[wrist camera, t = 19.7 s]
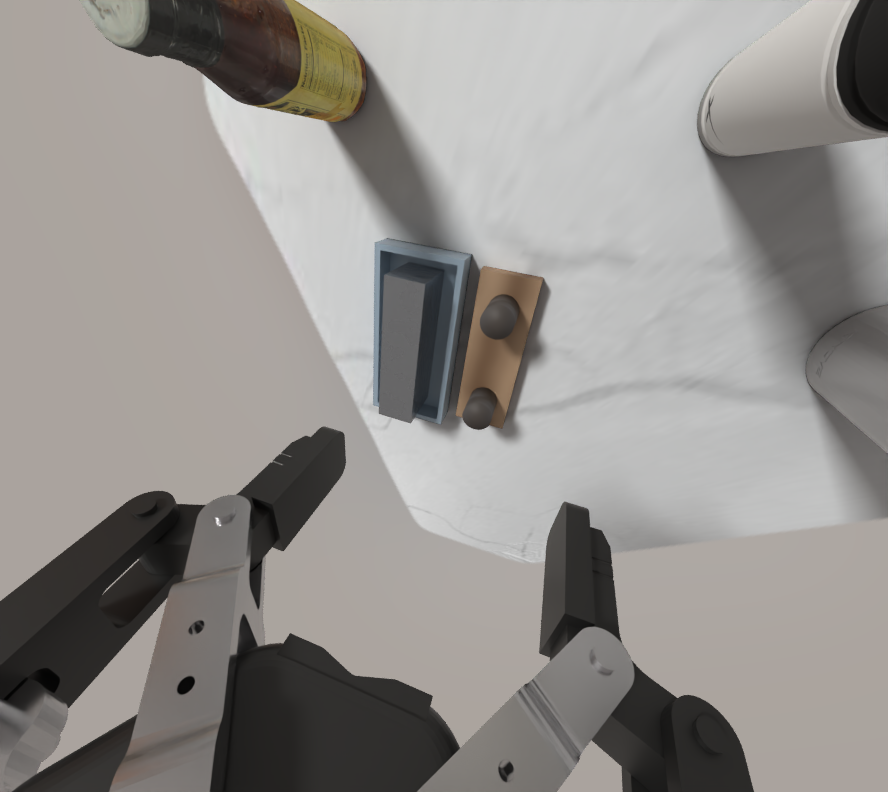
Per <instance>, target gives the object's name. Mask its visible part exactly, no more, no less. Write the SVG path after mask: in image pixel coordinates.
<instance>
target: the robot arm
mask: <svg viewBox="0 0 888 792" xmlns="http://www.w3.org/2000/svg"><path fill="white" fill-rule="evenodd" d="M806 376H807V379H808V382H809V384H810V385H811V386H812V388H813V389H814V390H815V391H816V392H817V393H819V394H820V395H821V396H822V397H823V398H824V399H825V400H827V401H828V402H829V403H830V404H831V405H832V406H834V407H835V408H836V409H837V410H838V411H839V412H840V413H841V414H842V415H844V416H845V417H846V418H847V419H848V420H849V421H850V422H852V423H853V424H854V425H855V426H856V427H857V428H859V429H860V430H861V431H862V432H863V433H864V434H865V435H867V436H868V437H869V438H870V439H871V440H872V441H874V442H875V443H876V444H877V445H878V446H879V447H880V448H882V449H883V450H884V451H885V452H886V453H887V454H888V305H884V306H881V307H877V308H873V309H870V310H867V311H864V312H862V313H859V314H857V315H855V316H852V317H850V318H848V319H847V320H845V321H843V322H841V323H840V324H838V325H836V326H835V327H834V328H833V329H831V330H830V331H829V332H827V333H826V334H825V335H824V336H823V337H822V338H821V339H820V340H819V341H818V342H817V344H816V345H815V346H814V348H813V350H812V351H811V353H810V354H809V357H808V360H807V363H806ZM345 463H346V457H345V437H344V433H343V432H341V431H337V430H334V429H331V428H327V427H321V428H320V429H319V430H318V431H317V432H316V433H315V434H314V435H313V436H312V437H308V436H304V437H302V438H300V439H298V440H296V441H295V442H292V443H291V444H290V445H289V446H288V447H287V448H286V449H285V450H284V451H283V452H282V454H281V455H280V454H279V455H278V456H277V457H276V458H275V459H274V460H273V462H272V463H270V464H269V465H268V466H267V467H266V468H265V469H264V470H262V471H261V472H260V473H259V474H258V475H257V476H256V477H255V478H254V479H253V480H252V481H251V482H250V483H249V484H248V485H247V486H246V487H245V488H243V490H241V491H240V492H239V493H238V494H237V495H227V496H223V497H220V498H217V499H215V500H213V501H211V502H210V503H208V504H207V505H187V504H176V501H175V499H174V497H173V496H172V495H171V494H170V493H168V492H164V491H153V492H148V493H144V494H142V495H139V496H137V497H135V498H133V499H131V500H129V501H128V502H126V503H125V504H124V505H123V506H121V507H120V508H119V509H117V510H116V511H115V512H114V513H112V514H111V515H110V516H108V517H107V518H106V519H105V520H104V521H102V522H101V523H100V524H98V525H97V526H96V527H94V528H93V529H92V530H91V531H89V532H88V533H87V534H86V535H84V536H83V537H82V538H80V539H79V540H78V541H77V542H75V543H74V544H73V545H72V546H70V547H69V548H68V549H66V550H65V551H64V552H63V553H61V554H60V555H59V556H57V557H56V558H55V559H54V560H52V561H51V562H50V563H49V564H47V565H46V566H45V567H44V568H42V569H41V570H40V571H38V572H37V573H36V574H35V575H33V576H32V577H31V578H30V579H28V580H27V581H26V582H24V583H23V584H22V585H21V586H19V587H18V588H17V589H15V590H14V591H13V592H12V593H10V594H9V595H8V596H6V597H5V598H4V599H3V600H1V601H0V792H557V791H558V789H559V788H560V787H561V785H562V784H563V782H564V781H565V780H566V779H567V777H568V776H569V775H570V773H571V772H572V770H573V769H574V767H575V766H576V764H577V763H578V761H579V759H580V758H579V757H580V755H581V753H582V752H583V750H584V749H585V748H586V746H587V745H588V744H589V742H590V741H591V740H592V741H593V742H594V743H595V744H597V745H598V746H599V747H600V748H601V749H602V750H603V751H605V752H606V753H607V754H608V755H609V756H610V757H612V758H613V759H614V760H615V761H616V762H617V763H618V764H619V765H621V766H622V786H623V792H754V790H753V787H752V783H751V779H750V775H749V771H748V767H747V763H746V759H745V755H744V752H743V749H742V746H741V744H740V741H739V739H738V737H737V735H736V733H735V732H734V730H733V728H732V727H731V726H730V724H729V723H728V722H727V720H726V719H725V718H724V717H723V715H722V714H721V713H720V712H719V711H718V710H716V709H715V708H714V707H713V706H712V705H710V704H709V703H708V702H706V701H704V700H702V699H701V698H698V697H695V696H691V695H684V696H681V697H679V698H676V697H675V696H674V695H672V694H671V693H670V692H668V691H667V690H666V689H664V688H663V687H661V686H660V685H659V684H657V683H656V682H655V681H653V680H652V679H651V678H649V677H648V676H647V675H646V674H644V673H643V672H642V671H641V670H640V669H639V668H638V667H637V666H636V665H635V664H634V663H633V661H632V660H631V657H630V655H629V654H628V652H627V650H626V648H625V647H624V645H623V644H622V641H621V638H620V634H619V626H618V616H617V607H616V598H615V588H614V581H613V569H612V566H611V564H612V560H611V550H610V546H609V544H608V542H607V540H606V538H605V536H604V534H603V532H602V531H601V530H598V529H595V528H592V527H590V519H589V510H588V509H587V508H584V507H580V506H577V505H574V504H571V503H567V502H564V503H563V504H562V506H561V508H560V510H559V512H558V515H557V517H556V519H555V521H554V523H553V525H552V527H551V530H550V533H549V536H548V540H547V546H546V559H545V575H544V590H543V605H542V620H541V636H540V650H539V653H540V654H542V655H545V656H548V657H550V662H549V663H548V664H547V665H546V666H545V667H544V668H543V669H542V670H541V671H540V672H539V673H538V674H537V675H536V676H535V677H534V678H533V680H531V681H530V682H529V683H528V684H525V685H524V686H523V687H521V688H520V689H519V690H518V691H517V692H516V693H515V694H514V695H513V696H512V697H511V698H510V699H509V700H508V701H507V702H506V703H505V704H504V705H503V706H502V707H501V708H500V709H499V710H498V711H497V712H496V713H495V714H494V715H493V716H492V717H491V718H490V719H489V720H488V721H487V722H486V723H485V724H484V725H483V726H482V727H481V728H480V729H479V730H478V731H477V732H476V733H475V734H474V735H473V736H472V737H471V738H470V739H469V740H468V741H467V742H466V743H465V744H464V745H463V746H462V747H461V748H460V747H459V745H458V743H457V741H456V739H455V737H454V735H453V733H452V732H451V730H450V728H449V727H448V726H447V724H446V722H445V721H444V720H443V719H442V718H441V716H440V715H439V714H438V713H437V712H436V711H435V710H434V709H433V708H431V707H430V705H431V701H432V697H433V696H432V695H429V694H427V693H425V692H423V691H420V690H418V689H416V688H414V687H411V686H409V685H406V684H404V683H402V682H400V681H398V680H395V679H384V678H373V677H361V676H354V675H352V674H351V673H350V672H348V671H347V670H346V669H345V668H344V667H343V666H342V665H341V664H340V663H339V662H338V661H337V660H336V659H335V658H333V657H332V656H331V655H330V654H329V653H328V652H327V651H326V650H325V649H324V648H322V647H320V646H318V645H316V644H313V643H311V642H309V641H306V640H304V639H302V638H299V637H297V636H295V635H293V634H291V633H290V634H289V636H288V637H287V639H286V640H285V642H284V643H283V644H282V643H279V644H278V643H276V644H268V645H265V632H264V624H263V600H264V580H265V555H266V554H267V553H268V551H269V550H270V549H271V548H272V547H273V548H276V549H278V550H281V551H284V550H285V549H286V547H287V546H288V545H289V544H290V542H291V541H292V539H293V538H294V537H295V536H296V534H297V533H298V532H299V531H300V529H301V528H302V527H303V525H304V524H305V523H306V521H307V520H308V519H309V518H310V516H311V515H312V514H313V512H314V511H315V510H316V508H317V507H318V506H319V504H320V503H321V502H322V501H323V499H324V498H325V497H326V496H327V494H328V493H329V492H330V490H331V489H332V488H333V486H334V485H335V484H336V483H337V481H338V480H339V478H340V477H341V476H342V474H343V471H344V469H345ZM137 559H139V561H138V562H137V563H135V564H134V565H133V566H132V568H130V569H129V570H128V571H127V572H126V573H125V574H124V575H123V576H122V577H121V578H120V579H119V580H118V581H116V582H115V583H114V584H113V585H112V586H111V587H110V588H109V589H108V590H107V591H106V592H105V593H104V591H105V590H106V588H108V587H109V586H110V585H111V584H112V583H113V582H114V581H115V580H116V579H117V578H118V577H119V576H120V575H121V574H123V573H124V572H125V570H127V569H128V568H129V567H130V566H131V565H132V564H133V563H134V562H135V561H136V560H137ZM103 593H104V594H103ZM102 594H103V595H102ZM167 597H168V598H167ZM166 598H167V602H166V606H165V610H164V614H163V618H162V621H161V625H160V629H159V633H158V637H157V641H156V645H155V649H154V653H153V656H152V660H151V664H150V668H149V672H148V676H147V680H146V683H145V687H144V691H143V695H142V699H141V703H140V707H139V711H138V714H137V715H135V716H134V717H132V718H131V719H129V720H127V721H126V722H124V723H122V724H120V725H119V726H117V727H115V728H114V729H112V730H110V731H108V732H107V733H105V734H104V735H102V736H100V737H98V738H97V739H95V740H93V741H92V742H90V743H88V744H87V745H85V746H83V747H81V748H80V749H78V750H77V751H75V752H73V753H71V754H70V755H68V756H66V757H65V758H63V759H61V760H60V761H58V762H56V763H54V764H53V765H51V766H49V767H48V768H46V769H44V770H43V771H41V772H39V773H38V774H36V773H37V770H38V768H39V766H40V764H41V762H43V761H44V760H45V759H47V758H48V757H49V756H50V755H51V754H52V753H53V752H54V750H55V749H56V748H57V746H58V744H59V741H60V734H61V732H62V730H63V728H64V726H65V724H66V721H67V716H68V708H69V707H70V706H71V705H72V704H73V703H74V701H75V700H76V699H77V698H78V697H79V696H80V695H81V694H82V692H83V691H84V690H85V689H86V688H87V687H88V686H89V685H90V684H91V682H92V681H93V680H94V679H95V678H96V677H97V676H98V675H99V673H100V672H101V671H102V670H103V669H104V668H105V667H106V666H107V664H108V663H109V662H110V661H111V660H112V659H113V658H114V657H115V656H116V654H117V653H118V652H119V651H120V650H121V649H122V648H123V647H124V645H125V644H126V643H127V642H128V641H129V640H130V639H131V638H132V636H133V635H134V634H135V633H136V632H137V631H138V630H139V629H140V627H141V626H142V625H143V624H144V623H145V622H146V621H147V620H148V618H149V617H150V616H151V615H152V614H153V613H154V612H155V611H156V609H157V608H158V607H159V606H160V605H161V604H162V603H163V602H164V601H165V600H166Z"/></svg>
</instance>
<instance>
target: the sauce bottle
mask: <svg viewBox="0 0 888 792" xmlns="http://www.w3.org/2000/svg"><path fill="white" fill-rule="evenodd" d="M80 2H81V4H82V6H83V8H84V9H85V11H86V13H87V14H88V16H89V17H90V18H91V20H92V22H93V23H94V25H95V26H96V28H97V29H98V30H99V31H100V32H101V33H102V34H103V35H104V36H105V38H106V39H108V40H109V41H111V42H112V43H113V44H115V45H117V46H119V47H121V48H124V49H127V50H130V51H133V52H136V53H138V54H141V55H144V56H148V57H152V56H160V55H162V56H165V57H167V58H171V59H176V60H179V61H182V62H183V63H185V64H186V65H189V66H191V67H194V68H196V69H197V70H198V71H200V72H201V73H202V74H204V75H205V76H206V77H207V78H209V79H210V80H211V81H212V82H213V83H215V84H216V85H217V86H218V87H219V88H221V89H222V90H223V91H224V92H225V93H227V94H228V95H229V96H231V97H232V98H233V99H235V100H237V101H239V102H241V103H244V104H247V105H252V106H256V107H261V108H267V109H271V110H276V111H281V112H285V113H291V114H295V115H300V116H305V117H309V118H314V119H319V120H324V121H329V122H337V121H346V120H347V119H349V118H350V117H352V116H353V115H354V114H355V113H356V112H357V111H358V109H359V108H360V107H361V106H362V103H363V102H364V97H365V92H366V78H367V77H366V68H365V64H364V61H363V59H362V57H361V55H360V53H359V51H358V50H357V48H356V47H355V45H354V44H353V42H352V41H351V40H350V39H349V38H348V36H347V35H346V34H344V33H343V32H342V31H340V30H339V29H338V28H337V27H336V26H334V25H333V24H331V23H330V22H328V21H327V20H325V19H323V18H322V17H320V16H319V15H317V14H316V13H314V12H313V11H311V10H309V9H308V8H306V7H305V6H303V5H302V4H300V3H298V2H297V1H295V0H80Z"/></svg>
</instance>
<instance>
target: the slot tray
mask: <svg viewBox="0 0 888 792" xmlns="http://www.w3.org/2000/svg"><path fill="white" fill-rule="evenodd" d="M471 258H472V255H471V254H466V253H461V252H456V251H451V250H446V249H440V248H435V247H430V246H425V245H420V244H414V243H409V242H404V241H399V240H394V239H388V238H387V239H384V240H381V241H378V242H375V276H374V384H373V405H374V406H378V407H379V396H380V369H381V343H382V317H383V290H384V274H386V273H388V272H390V271H392V270H394V269H396V268H398V267H400V266H402V265H404V264H406V263H408V262H411V263H416V264H420V265H425V266H429V267H434V268H438V269H443V270H445V272H444V279H443V287H442V294H441V302H440V309H439V317H438V325H437V332H436V340H435V347H434V355H433V363H432V370H431V378H430V385H429V393H428V398H427V399H426V401H425V402H424V404H423V405H422V407H421V408H420V410H419V412H418V413H417V415H416V416H415V417H416V418H420V419H423V420H427V421H430V422H433V423H437V424H440V425H441V423H442V421H443V419H444V417H445V416H446V414H447V412H448V406H449V399H450V393H451V387H452V380H453V374H454V367H455V361H456V354H457V348H458V342H459V335H460V329H461V322H462V316H463V309H464V303H465V297H466V290H467V284H468V277H469V271H470V264H471Z"/></svg>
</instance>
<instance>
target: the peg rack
mask: <svg viewBox="0 0 888 792" xmlns="http://www.w3.org/2000/svg"><path fill="white" fill-rule="evenodd" d="M542 281H543V278H542V277H537V276H532V275H527V274H522V273H517V272H512V271H507V270H502V269H497V268H492V267H487V266H484V267H483V268H482V269H481V272H480V277H479V283H478V289H477V295H476V301H475V306H474V312H473V318H472V324H471V330H470V335H469V341H468V347H467V353H466V358H465V364H464V370H463V376H462V382H461V387H460V393H459V399H458V405H457V411H456V416H459V417H462V418H463V420H464V422H465V423H466V425H468V426H469V427H471V428H473V429H477V430H480V429H484V428H486V427H488V426H489V425H491V426H494V427H498V428H503V424H504V421H505V417H506V413H507V410H508V406H509V402H510V399H511V395H512V391H513V388H514V384H515V380H516V377H517V373H518V369H519V366H520V362H521V358H522V355H523V351H524V347H525V344H526V340H527V336H528V333H529V329H530V325H531V322H532V318H533V314H534V311H535V307H536V303H537V300H538V296H539V292H540V288H541V285H542Z"/></svg>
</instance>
